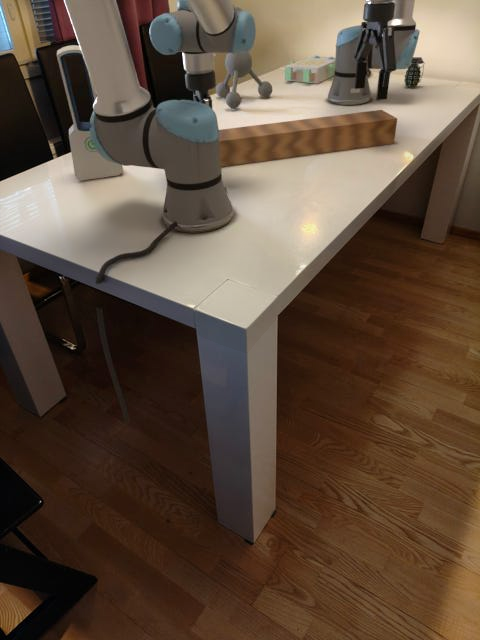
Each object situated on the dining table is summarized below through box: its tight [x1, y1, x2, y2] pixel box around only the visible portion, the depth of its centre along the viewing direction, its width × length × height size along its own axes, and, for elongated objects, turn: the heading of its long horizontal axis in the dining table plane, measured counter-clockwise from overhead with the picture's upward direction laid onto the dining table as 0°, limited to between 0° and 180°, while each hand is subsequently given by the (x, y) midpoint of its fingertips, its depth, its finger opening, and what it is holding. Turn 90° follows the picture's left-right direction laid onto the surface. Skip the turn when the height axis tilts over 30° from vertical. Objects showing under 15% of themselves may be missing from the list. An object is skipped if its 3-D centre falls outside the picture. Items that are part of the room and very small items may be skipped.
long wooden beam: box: [219, 109, 398, 168], centre depth 136 cm, size 60×10×7 cm, turn 104°
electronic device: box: [56, 44, 124, 181], centre depth 122 cm, size 12×8×30 cm, turn 105°
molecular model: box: [215, 6, 273, 109], centre depth 175 cm, size 24×22×30 cm
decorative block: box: [284, 55, 335, 84], centre depth 206 cm, size 26×6×20 cm
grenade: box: [404, 56, 426, 89], centre depth 185 cm, size 7×6×10 cm
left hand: (207, 159), depth 134 cm, fingers open, 11 cm apart
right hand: (370, 93), depth 134 cm, fingers open, 13 cm apart
